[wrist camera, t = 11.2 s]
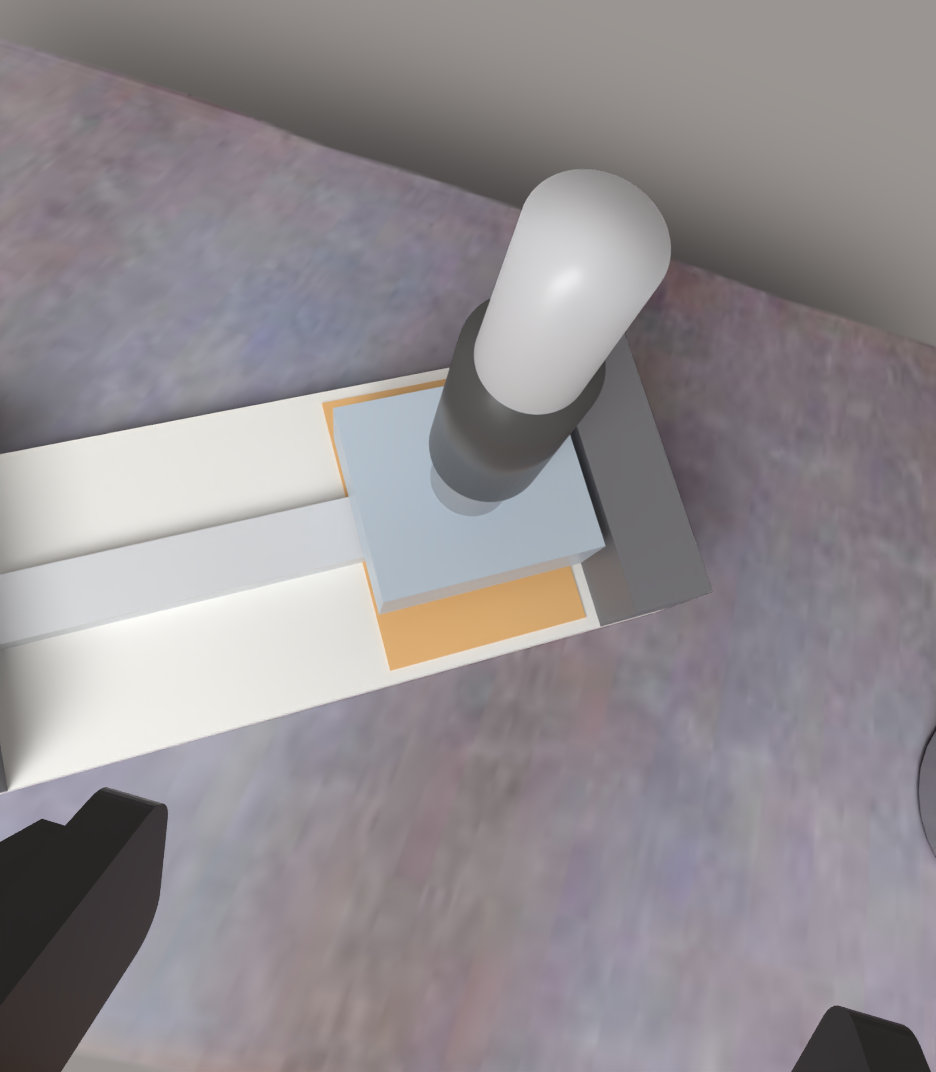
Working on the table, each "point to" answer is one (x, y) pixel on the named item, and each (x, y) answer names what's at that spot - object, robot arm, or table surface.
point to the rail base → (274, 576)
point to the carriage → (506, 406)
